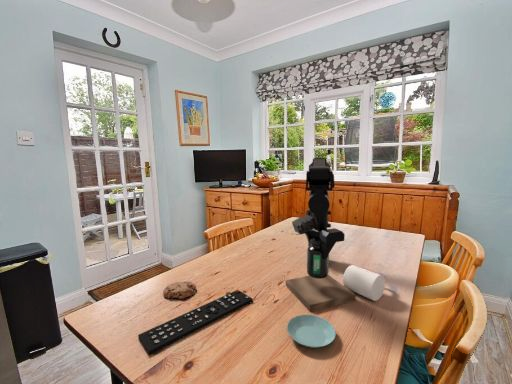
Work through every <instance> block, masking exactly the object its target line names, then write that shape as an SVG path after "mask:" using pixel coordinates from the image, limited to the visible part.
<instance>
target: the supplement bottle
mask: <svg viewBox="0 0 512 384" xmlns="http://www.w3.org/2000/svg"><path fill="white" fill-rule="evenodd" d="M317 239H320V237H318V236H316V237H312V238H311V242H310V244H311V245H310V246H309V247H307V252H306V254H307V255H306V272H307V273H306V274H307V276H311V277H313V278H318V279H321V278H325V277H327V276H328V275H329V271H330V268H329V267H330V254H329V255H328V257H327V258H326V259H323V257H322V247H321V243H320V242H319V241H318V240H317Z"/></svg>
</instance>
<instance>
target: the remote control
mask: <svg viewBox="0 0 512 384" xmlns="http://www.w3.org/2000/svg"><path fill="white" fill-rule="evenodd" d="M253 300H254V299H253V298H252V297H251V296H249V295H247V294H246V293H245V292H242V291H241V290H239V289H236V290H234V291H232V292H229V293H227V294H225V295H222V296H221V297H218V298H216V299H214V300H212V301H210V302H207V303H204V304H203V305H201V306H198V307H196V308H194V309H192V310H190V311H188V312H186V313H183V314H181V315H178V316H176V317H174V318H172V319H169V320H168V321H166V322H163V323H161V324H159V325H157V326H154V327H152V328H150V329H148V330H146V331H144V332H142V333H141V332H140V333H139V334H138V335H137V336H138V337H137V338H138V340H139V341H140V343H141V345H142V346H143V348H144V349H145V351H146V353H147V354H148V356H151V355H153V354H155V353H157V352H158V351H160V350H163V349H164V348H166V347H168V346H170V345H173V344H174V343H176V342H178V341H180V340H182V339H184V338H186V337H188V336H189V335H192V334H194V333H195V332H197V331H199V330H201V329H204V328H205V327H207V326H208V325H210V324H213V323H214V322H217V321H218V320H221V319H222V318H224V317H227V316H228V315H230V314H231V313H234V312H236V311H237V310H240V309H241V308H244V307H246V306H247V305H250V304H251V303H253V302H254V301H253Z"/></svg>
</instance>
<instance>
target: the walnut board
mask: <svg viewBox="0 0 512 384" xmlns="http://www.w3.org/2000/svg"><path fill="white" fill-rule="evenodd" d="M285 287H287V289H288V290H289V291H290V292H291V293H292V294H293V295H294V296H295V297H296V299H297V300H299V301H300V303H301V304H302V306H304V307H305V308H306V309H307V311H308V312H313V311H317V310H323V309H326V308H330V307H334V306H337V305H343V304H346V303H350V302H354V301H356V294H355V292H353V291H351V290H349V289H347V288H346V287H345V286H344V284H342V283H341V282H339V280H336V279H335V278H334V277H332V276H331V275H329V274H328V276H327V277H325V278H321V279H318V278H313V277H311V276H309V275H305V276H300V277H297V278H296V277H295V278H291V279H286V280H285Z"/></svg>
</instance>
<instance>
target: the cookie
mask: <svg viewBox="0 0 512 384" xmlns="http://www.w3.org/2000/svg"><path fill="white" fill-rule="evenodd" d="M196 289H197V284H195V283H193V282H192V281H175V282H173V283H170V284H168V285H167V286H166V287H165V288H164V289H163V293H162V295H163V296H164V298H167V299H175V298H176V299H178V300H183V299H185V298H187V297H191V296H193V295H194V294H195V292H196Z"/></svg>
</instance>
